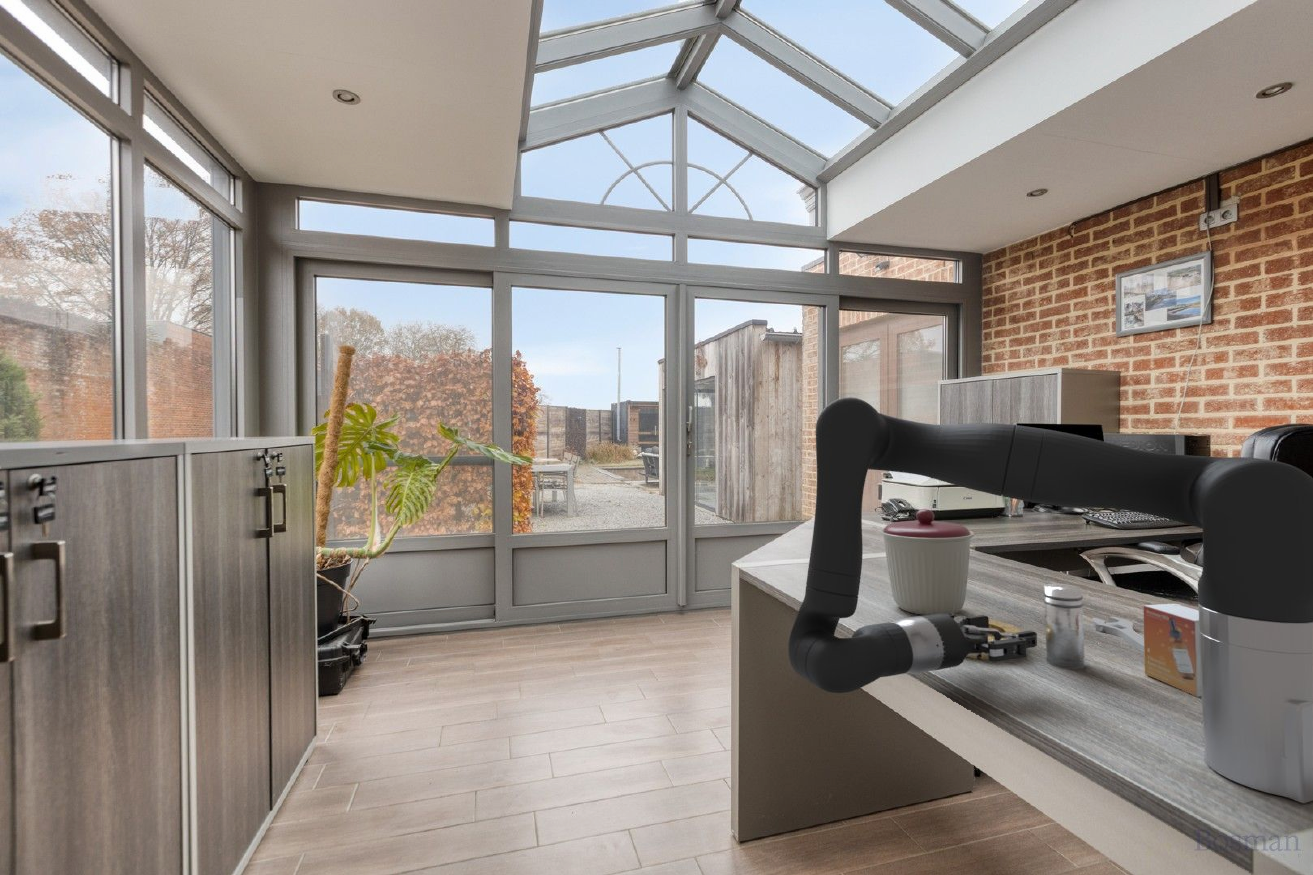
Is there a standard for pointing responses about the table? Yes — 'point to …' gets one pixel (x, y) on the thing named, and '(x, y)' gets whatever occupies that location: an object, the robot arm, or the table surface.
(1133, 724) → the table surface
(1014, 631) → the ring
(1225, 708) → the robot arm
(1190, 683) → the small box
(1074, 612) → the spice jar
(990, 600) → the table surface
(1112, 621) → the adjustable wrench
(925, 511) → the canister
